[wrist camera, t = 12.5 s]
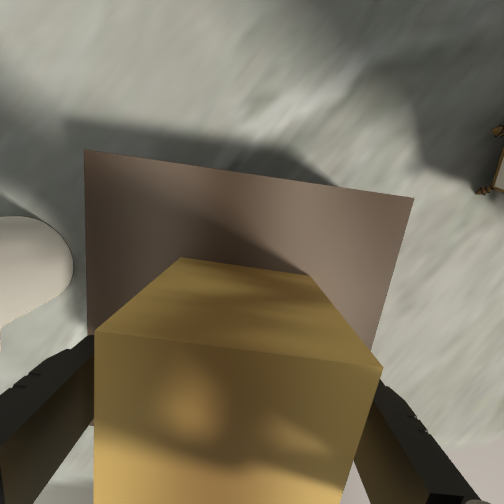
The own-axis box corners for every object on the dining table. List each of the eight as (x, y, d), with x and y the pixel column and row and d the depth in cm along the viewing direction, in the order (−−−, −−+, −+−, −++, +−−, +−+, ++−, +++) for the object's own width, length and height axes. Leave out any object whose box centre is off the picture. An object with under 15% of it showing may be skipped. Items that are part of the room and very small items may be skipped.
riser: (353, 198, 16) (414, 198, 10) (313, 372, 19) (342, 449, 13) (147, 168, 15) (83, 149, 9) (140, 353, 18) (89, 425, 12)
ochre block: (310, 275, 11) (383, 367, 5) (286, 384, 12) (321, 558, 6) (180, 257, 10) (94, 330, 5) (170, 370, 12) (93, 539, 6)
